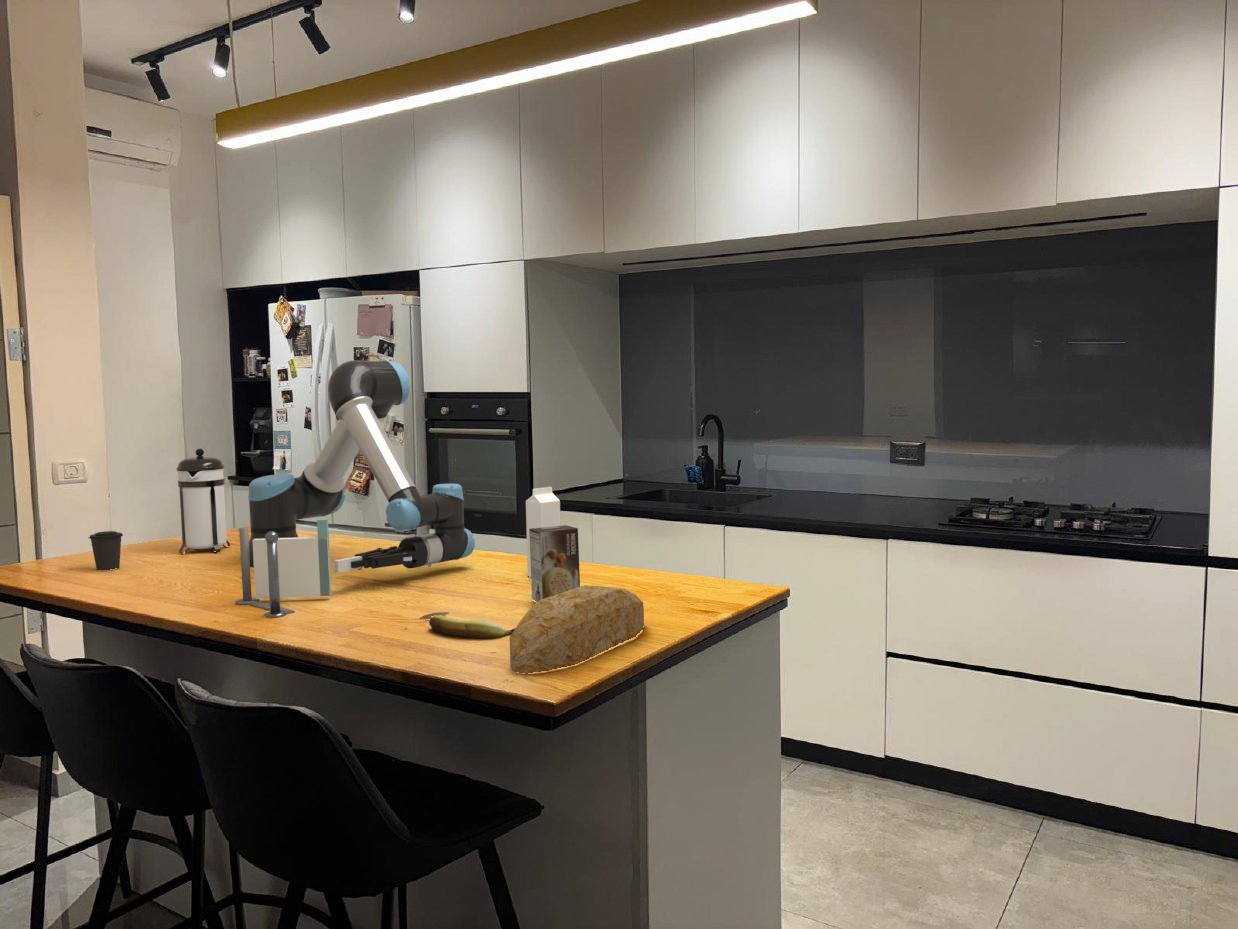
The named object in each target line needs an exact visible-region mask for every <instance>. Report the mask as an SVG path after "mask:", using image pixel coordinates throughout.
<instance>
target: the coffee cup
mask: <svg viewBox="0 0 1238 929" xmlns="http://www.w3.org/2000/svg"><path fill="white" fill-rule="evenodd" d="M123 536H124V534H123V532H120V531H119V532H118V531H115V530H112V531H111V530H108V531H106V530H105V531H100V532H99V531H98V532H95V533H94V534H90V535H89V536H88V539H90V542H91V543H90V544H91V548H92V553H93V559H94V563H95V569H96V571H97V570H110V569H115V568H119V569H120V565H121V562H120V561H121V550H122V549H121V548H122V547H121V546H122V537H123Z"/></svg>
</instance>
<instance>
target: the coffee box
mask: <svg viewBox="0 0 1238 929" xmlns="http://www.w3.org/2000/svg"><path fill="white" fill-rule="evenodd" d="M529 533H530V560H531V578H530V583H531V600H532V599H533V600H535V601H536V602H538V601H539V600H542V599H545V598H548V597H551V596H554V595H557V594H560V593H563V592H566V591H569V590H572V589H575V588H578V587H581V578H580V576H581V575H580V571H581V570H580V551H579V550H580V548H579V528H578V527H574V526H571V525H566V524H565V525H564V524H563V525H560V526H552V527H542V528H531V529H529ZM536 602H535V603H536Z"/></svg>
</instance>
